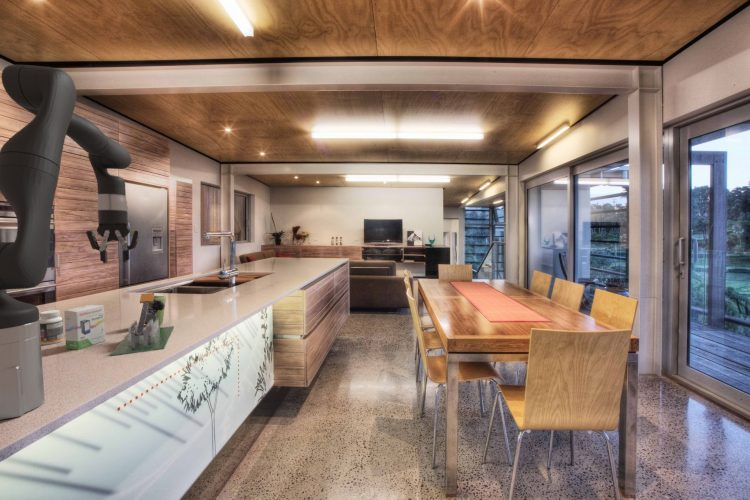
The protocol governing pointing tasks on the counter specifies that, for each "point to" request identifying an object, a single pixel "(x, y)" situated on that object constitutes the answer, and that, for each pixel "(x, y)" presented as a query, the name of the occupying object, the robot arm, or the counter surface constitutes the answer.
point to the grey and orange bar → (144, 311)
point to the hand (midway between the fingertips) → (115, 262)
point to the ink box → (84, 326)
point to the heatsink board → (144, 337)
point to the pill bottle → (51, 327)
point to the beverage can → (157, 307)
